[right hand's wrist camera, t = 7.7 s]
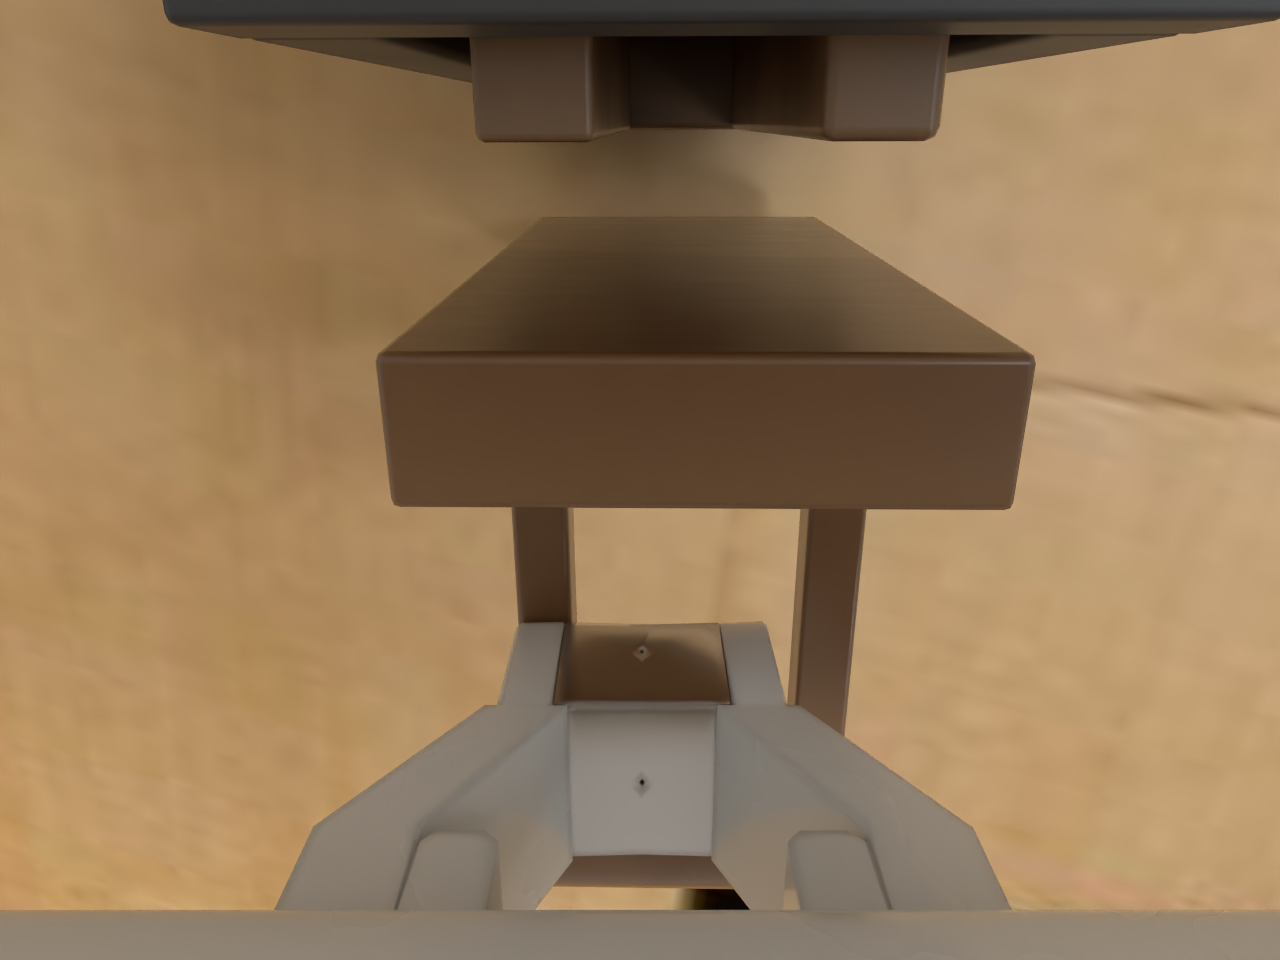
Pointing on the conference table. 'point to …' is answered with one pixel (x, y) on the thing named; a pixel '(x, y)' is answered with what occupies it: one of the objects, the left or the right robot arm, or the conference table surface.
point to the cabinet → (705, 24)
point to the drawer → (703, 347)
